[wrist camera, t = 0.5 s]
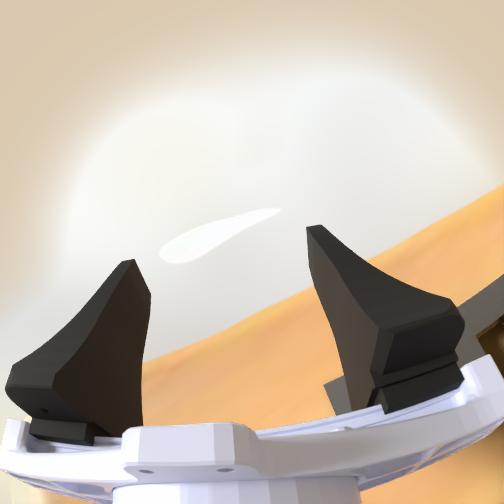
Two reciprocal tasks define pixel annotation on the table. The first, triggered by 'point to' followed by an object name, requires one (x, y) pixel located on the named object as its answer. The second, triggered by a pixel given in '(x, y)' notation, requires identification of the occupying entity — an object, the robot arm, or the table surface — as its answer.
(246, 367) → the table surface
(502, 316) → the hole block
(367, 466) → the robot arm
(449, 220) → the table surface
